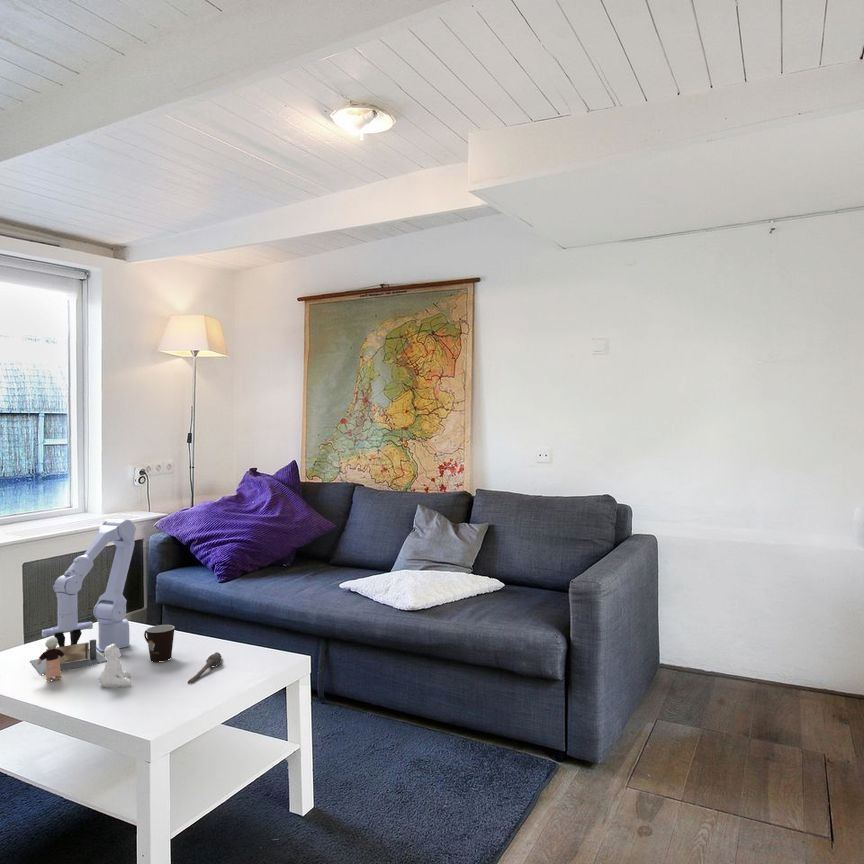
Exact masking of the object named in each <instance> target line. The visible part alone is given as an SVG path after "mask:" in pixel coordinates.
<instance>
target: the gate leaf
mask: <svg viewBox="0 0 864 864" xmlns="http://www.w3.org/2000/svg"><path fill="white" fill-rule="evenodd" d="M55 649H59V650H61V651H62V652H63V653H64V654H65V656H66V658H67V660H66V661H63V659H62V657H60V656H58V658H59V661H60V663H66V662H72V661H78V660H83V659H89V649H90V642H81V643H77V644H74V645H71V644H70V645H65V646H62V647H59V646H56V648H55ZM45 650H46V651H48V650H50V649H48V648H46V649H45ZM46 659H47V658H46Z"/></svg>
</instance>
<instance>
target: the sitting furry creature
mask: <svg viewBox="0 0 864 864" xmlns="http://www.w3.org/2000/svg"><path fill="white" fill-rule="evenodd" d="M120 649H121V648H117V647H116V646H115V644H110V646H107V647H106V648H105V650H104V651H103V653H104V658H105V659H106V660H107V662H105V665H104V669H103V670H102V672H101V674H100V676H99V678H98V680H99V684H100V685H101V686H103V687H104V688H106V689H107V688H109V689H110V688H129V687H131V686H132V679H130V678H131V675H132V674H131V672H130V671H128V670H123V669H122V667H123V666H122V663H121V660H120V657H121V656H122V654H121V651H120Z"/></svg>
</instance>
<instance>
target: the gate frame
mask: <svg viewBox="0 0 864 864" xmlns="http://www.w3.org/2000/svg"><path fill="white" fill-rule="evenodd" d="M96 645H97V639H91V640H89V659H83V660H78V661H72V662H66V663H60V670H61V672H64V671H63V670H65V671H68V670H69V669H70V670H74V669H78V668H83V666H84V667H87V665H88V666H93V665H96V663H98V664H101V663H100V662H102V663H106V661H108V659H107V658H106V657H105V656H103V655H101V653H100V652H98V651H97V648H96ZM38 660H39V658H38V659H33V660H29V662H30V664H31V663H32V664H31V665H32V666H33V667H34V669H35V668H36V669H37V670H38V671H37V670H36V669H35V670H36V671H37V672H38V674H39V673H40V674H41V675H40V674H39V675H40V676H43V675H42V674H46V659H44V660H42V662H41V664H40V665H38V664H37V662H38ZM92 664H93V665H92Z"/></svg>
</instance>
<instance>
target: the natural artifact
mask: <svg viewBox="0 0 864 864" xmlns="http://www.w3.org/2000/svg"><path fill="white" fill-rule="evenodd" d="M222 657H223V656H222V655H221V654H220V653H219V652H214V653H213V654H211V655H209V656H208V658H207V659H206V660H205V661H206V663H205V664H204V666H203V667H202V668H201V669H200V670H199V671H198V672H197V674H195V675H194V676H192V677H191V678H190V679H188V681H187V684H188V685H191V684H192V683H193V682H195V681H196V680H198V679H200V677H201V676H202V675H203V674H204V673H206V671H207V669H209V668H211V667H210V666H216V665H217V666H219V665H220V664H221V663H222ZM220 662H221V663H220ZM219 663H220V664H219ZM217 666H216V667H217ZM197 678H198V679H197ZM190 683H191V684H190Z"/></svg>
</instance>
